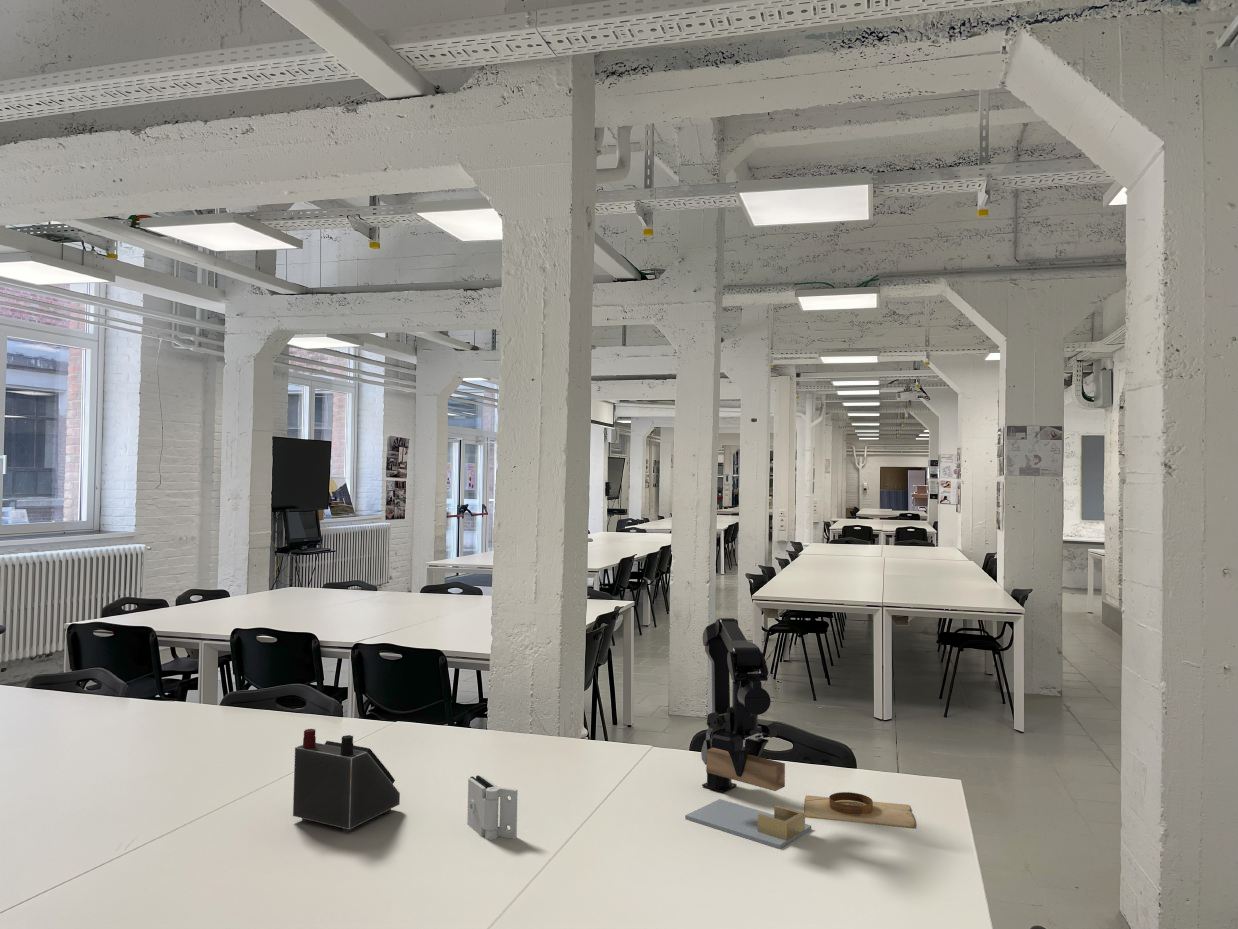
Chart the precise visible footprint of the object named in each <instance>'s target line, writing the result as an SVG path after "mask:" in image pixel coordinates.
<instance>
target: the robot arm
mask: <svg viewBox="0 0 1238 929" xmlns="http://www.w3.org/2000/svg"><path fill="white" fill-rule="evenodd" d="M702 645H703V646H704V652H705V653H706V655H707V658H708V659H709V660H710V662H711V708H712V710H711V713H707V717H706V725H707V726H708V728H707V730H705V731H706V733H705V739H704V740H703V743H702V747H701V750H700V754H701V760H702V762H703V764H704V765H705V766H706V751H707V750H708V749H711V748H716V749H720V750H724V751H728V752H729V754H730V757H731V759H732V763H733V766H734V769H735V772H736V775H737V776H738V777H741V776H742V774H743V771H744V767H745V764H746V760H747V756H748V754H749V755H753V756H757V757H760V756H761V755H762V753H763V751H764V749H765V747H766V745H767V743H769V741H770V740H769V739H767V738H766V739H765V738H764V735H763V734H767V736H768V738H771V739H772V738H775V737H777V736H778V726H777V725H776V723H774V722H772V721H767V720H764V719H759V715H764V713H766V712H767V711H768V710H769V708H770V706H771V703H772V702H771V701H772V700H771V697H770V696H771V695H770V693H768V691H767V690H766V689H765V688H763V686H762V685H763V683H762V682H767V681H768V679H769V678H768V676H769V668H768V665H767V664H768V663H767V659H766V657H765V656H764V655H765V654H764V653H763V652H762V650H761V648H760V647H759V646H758V645H757V644H756V643H754V642H750V641H748V640H747V638H746V637H745V635H744V633H743V631H742V630H741V628H740V627H739V621H738V618H734V617H729V618H728V617H719V618H716V619H715V621H714V622H712V623H711V624H709V625H706V627H704V630H703V633H702ZM730 680H731V681H732V686H730V684H731V683H730V682H731V681H730ZM731 687H732V690H731ZM730 691H732V697H731V692H730ZM731 698H732V701H731ZM731 703H732V704H731ZM701 787H703V788H706V789H709V790H713V791H715V792H716V791H717V792H720V793H725V792H728V791H730V790H732V789H734V788H736V787H737V783H735V782H733V781H732V779H729V778H725V777H722V776H718V775H714V774H711V773H707V772H706V782H704V783H703V784H701Z"/></svg>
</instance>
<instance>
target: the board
mask: <svg viewBox="0 0 1238 929" xmlns="http://www.w3.org/2000/svg"><path fill="white" fill-rule="evenodd" d="M803 813H805V819H806V818H807V819H819V820H827V821H828V820H829V821H835V822H836V821H837V822H846V823H847V822H848V823H855V824H865V825H867V824H868V825H875V826H877V825H878V826H885V827H894V828H895V827H896V828H904V829H905V828H906V829H913V830H914V829H917V824H916V820H915V818H914V817H915V816H914V815H913V812H912V808H911V806H910V804H903V803H893V802H881V801H873V799H872V798H871V797H869V796H867V795H865V794H863V793H858V792H850V791H848V792H847V791H841V792H835V793H832V794H830V795H829V796H818V795H807V794H806V795H805V797H804V803H803Z"/></svg>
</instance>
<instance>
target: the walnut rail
mask: <svg viewBox="0 0 1238 929" xmlns="http://www.w3.org/2000/svg"><path fill="white" fill-rule="evenodd" d="M705 768H706V770H705V771H706V774H707V773H711V774H714V775H718V776H722V777H725V778H729V779H732V780H733V781H736V782H740V783H743V784H746V785H747V784H748V785H750V786H755V787H759V788H762V789H765V790H769V791H773V792H777V791H779V790H781V789H783V788H785V787H786V784H785V783H786V782H785V781H786V773H785V772H786V763H784V762H782V761H781V762H780V761H776V760H772V759H768V758H765V757H757V756H753V755H749V754H748V756H747V760H746V764H745V767H744V771H743V774H742V776H741V777H738V776H737V775H736V772H735V769H734V766H733V763H732V759H731V757H730V754H729V752H728V751H724V750H720V749H716V748H711V749H708V750H707V751H706V765H705Z"/></svg>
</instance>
